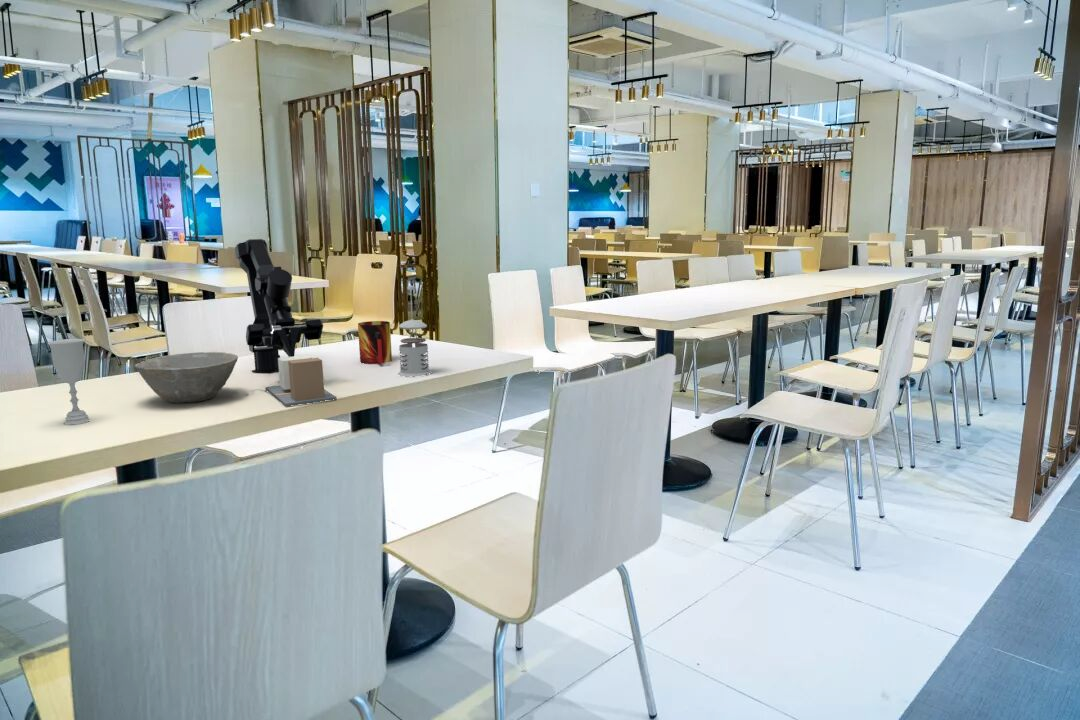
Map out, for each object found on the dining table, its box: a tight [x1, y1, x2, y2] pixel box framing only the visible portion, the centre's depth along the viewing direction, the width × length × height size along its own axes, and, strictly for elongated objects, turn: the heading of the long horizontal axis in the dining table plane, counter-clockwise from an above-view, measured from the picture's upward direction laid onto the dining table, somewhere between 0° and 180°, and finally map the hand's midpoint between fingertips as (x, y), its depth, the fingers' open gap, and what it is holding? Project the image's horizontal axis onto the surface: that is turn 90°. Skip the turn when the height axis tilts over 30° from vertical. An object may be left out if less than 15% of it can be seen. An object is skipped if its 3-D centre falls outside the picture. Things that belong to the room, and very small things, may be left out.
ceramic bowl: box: [134, 351, 239, 404], centre depth 183 cm, size 22×23×10 cm
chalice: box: [47, 338, 91, 425], centre depth 163 cm, size 7×7×18 cm
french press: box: [397, 285, 432, 378], centre depth 209 cm, size 10×12×25 cm
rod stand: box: [265, 357, 337, 407], centre depth 186 cm, size 22×12×10 cm, turn 32°
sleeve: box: [278, 354, 312, 389], centre depth 187 cm, size 5×7×7 cm
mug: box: [357, 320, 393, 365], centre depth 228 cm, size 10×14×12 cm
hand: (292, 357), depth 189 cm, fingers closed, pressing on sleeve
